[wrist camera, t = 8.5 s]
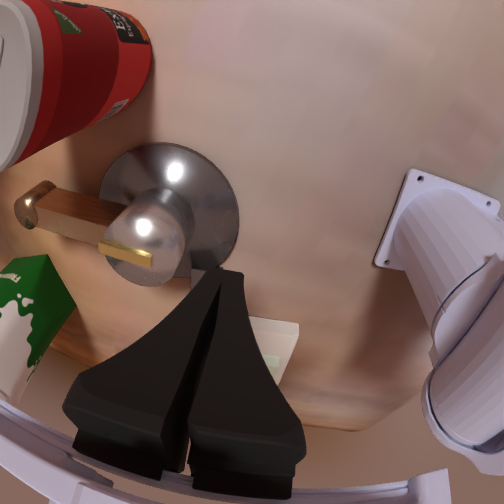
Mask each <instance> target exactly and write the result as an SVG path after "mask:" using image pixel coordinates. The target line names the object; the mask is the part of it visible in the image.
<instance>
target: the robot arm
mask: <svg viewBox="0 0 504 504" xmlns="http://www.w3.org/2000/svg"><path fill="white" fill-rule="evenodd" d="M419 176H422V178H421V180H419V181H417V178H418V177H419ZM488 201H489V202H488ZM487 202H488V204H487ZM486 204H487V205H486ZM499 209H500V203H499V202H498V201H497V200H496V199H493V198H491V197H489V196H486V195H484V194H482V193H479V192H477V191H474V190H472V189H469V188H467V187H464V186H462V185H459V184H456V183H454V182H451V181H448V180H446V179H443V178H440V177H437V176H435V175H432V174H429V173H426V172H423V171H420V170H417V169H410V170H409V171H408V172H407V174H406V177H405V180H404V183H403V186H402V189H401V192H400V195H399V197H398V200H397V203H396V206H395V208H394V211H393V214H392V216H391V219H390V221H389V224H388V227H387V229H386V232H385V234H384V237H383V239H382V241H381V244H380V246H379V249H378V251H377V253H376V256H375V258H374V261H375V264H376V265H377V266H379V267H385V268H391V269H396V270H402V271H405V273H406V275H407V277H408V279H409V282H410V284H411V286H412V288H413V291H414V293H415V296H416V298H417V300H418V303H419V305H420V308H421V310H422V313H423V315H424V318H425V320H426V323H427V325H428V328H429V331H430V333H431V336H432V338H433V346H432V348H431V350H430V351H429V356H430V359H431V362H432V365H433V370H432V371H431V372H430V373H429V375H428V376H427V378H426V380H425V382H424V385H423V388H422V394H421V403H422V410H423V414H424V418H425V420H426V422H427V425H428V426H429V428H430V430H431V432H432V433H433V435H434V436H435V437H436V438H437V439H438V440H439V441H440V442H441V443H442V444H443V445H445V446H446V447H448V448H449V449H452V450H454V451H456V452H459V453H461V454H463V455H464V456H466V457H467V458H469V459H470V460H471V461H472V462H473V464H474V465H475V466H476V467H477V468H478V470H479V471H480V472H481V473H483V474H490V475H498V476H504V222H503V221H502V220H501V219H500V218H499V217H498V216H497V213H498V211H499ZM385 260H388V261H387V262H384V261H385ZM62 409H63V411H64V413H65V414H66V416H67V417H68V418H69V419H70V420H71V421H72V422H73V423H74V424H75V425H76V427H77V428H78V432H77V434H76V437H75V439H74V438H72V437H70V436H68V435H66V434H63V433H61V432H59V431H57V430H55V429H53V428H51V427H49V426H47V425H45V424H43V423H42V422H40V421H38V420H36V419H34V418H32V417H31V416H29V415H27V414H25V413H23V412H22V411H20V410H19V409H17V408H15V407H14V406H12V405H10V404H9V403H7V402H6V401H4V400H3V399H1V398H0V465H1V466H3V467H4V468H5V469H6V470H8V471H9V472H10V473H12V474H13V475H14V476H16V477H17V478H18V479H20V480H21V481H23V482H24V483H26V484H27V485H29V486H30V487H32V488H33V489H35V490H36V491H38V492H39V493H41V494H43V495H44V496H46V497H47V498H49V499H50V500H49V504H162V503H158V502H155V501H151V500H148V499H144V498H141V497H138V496H134V495H131V494H128V493H125V492H122V491H119V490H117V489H114V488H112V487H113V484H114V483H113V482H112V481H111V480H109V479H107V478H105V477H103V476H102V475H100V474H98V473H97V472H96V471H95V470H93V469H91V468H89V467H87V466H85V465H83V464H81V463H79V462H77V461H75V460H74V459H73V458H72V457H74V458H76V459H79V460H80V461H83V462H85V463H87V464H90V465H92V466H95V467H97V468H99V469H102V470H105V471H107V472H110V473H112V474H115V475H118V476H121V477H124V478H127V479H130V480H133V481H136V482H139V483H142V484H146V485H149V486H153V487H156V488H160V489H164V490H168V491H172V492H176V493H180V494H184V495H189V496H195V497H200V498H205V499H210V500H216V501H223V502H230V503H238V504H239V503H240V504H451V494H450V486H449V478H448V470H447V468H443V469H439V470H435V471H430V472H425V473H422V474H419V475H416V476H414V477H412V478H410V479H409V480H405V481H399V482H392V483H386V484H379V485H369V486H360V487H346V488H321V489H297V488H292V478H293V477H294V476H295V465H296V464H297V463H298V462H300V461H301V460H302V459H303V458H304V457H305V456H306V442H305V436H304V432H303V428H302V424H301V421H300V419H299V418H298V417H297V415H296V414H295V412H294V411H293V410H292V408H291V407H290V405H289V404H288V402H287V401H286V399H285V398H284V396H283V394H282V393H281V391H280V390H279V388H278V386H277V384H276V382H275V381H274V379H273V377H272V375H271V373H270V371H269V369H268V367H267V365H266V363H265V361H264V359H263V356H262V354H261V352H260V349H259V347H258V344H257V341H256V339H255V336H254V333H253V329H252V326H251V323H250V319H249V315H248V311H247V306H246V301H245V294H244V275H243V274H242V273H241V272H235V271H229V270H223V269H218V268H212V267H210V268H208V269H207V270H206V272H205V273H204V275H203V276H202V277H201V279H200V280H199V281H198V283H197V284H196V285H195V286H194V288H193V289H192V290H191V291H190V292H189V293H188V295H187V296H186V297H185V298H184V299H183V300H182V301H181V302H180V303H179V305H178V306H177V307H176V308H175V309H174V310H173V311H172V312H171V313H170V314H169V315H168V316H166V317H165V318H164V319H163V320H162V321H161V322H160V323H159V324H158V325H156V326H155V327H154V328H153V329H152V330H150V331H149V332H148V333H147V334H145V335H144V336H143V337H141V338H140V339H139V340H137V341H136V342H134V343H133V344H132V345H130V346H129V347H127V348H126V349H124V350H122V351H121V352H119V353H117V354H116V355H114V356H112V357H111V358H109V359H107V360H106V361H104V362H102V363H100V364H98V365H96V366H94V367H92V368H90V369H87V370H85V371H83V372H81V373H79V375H78V377H77V378H76V380H75V381H74V383H73V384H72V386H71V388H70V390H69V392H68V394H67V396H66V399H65V401H64V403H63V405H62ZM189 438H190V441H191V446H190V452H189V456H188V460H187V464H189V466H190V470H191V476H187V475H183V474H179V473H181V472H182V471H184V468H185V461H186V455H187V449H188V443H189ZM71 456H72V457H71Z"/></svg>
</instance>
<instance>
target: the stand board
mask: <svg viewBox="0 0 504 504" xmlns="http://www.w3.org/2000/svg"><path fill="white" fill-rule="evenodd" d="M249 319H250V323H251V326H252V329H253V333H254V336H255V339H256V341H257V344H258V347H259V349H260V352H261V354H262V356H263V359H264V361H265V363H266V365H267V367H268V369H269V371H270V373H271V375H272V377H273V379H274V381H275V382H276V384H277V385H278V384H279V382H280V380H281V378H282V375H283V373H284V371H285V368H286V366H287V364H288V361H289V359H290V356H291V354H292V352H293V349H294V347H295V344H296V342H297V339H298V337H299V323H292V322H285V321H278V320H271V319H265V318H259V317H253V316H249Z"/></svg>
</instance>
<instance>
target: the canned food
mask: <svg viewBox="0 0 504 504" xmlns="http://www.w3.org/2000/svg"><path fill="white" fill-rule="evenodd" d="M151 62H152V47H151V42H150V38H149V36H148V34H147V32H146V30H145V29H144V27H143V26H142V25H141V24H140V22H139V21H138V20H137V19H135V18H134V17H133V16H131V15H130V14H127V13H124V12H122V11H117V10H113V9H108V8H103V7H98V6H93V5H87V4H81V3H74V2H67V1H58V0H0V172H4V171H5V170H7V169H8V168H10V167H12V166H13V165H15V164H17V163H19V162H21V161H23V160H24V159H26V158H28V157H29V156H31V155H33V154H35V153H37V152H38V151H40V150H42V149H44V148H46V147H48V146H49V145H51V144H53V143H55V142H57V141H59V140H61V139H63V138H65V137H67V136H69V135H71V134H73V133H75V132H78V131H80V130H82V129H84V128H86V127H89V126H91V125H93V124H95V123H98V122H100V121H102V120H105V119H107V118H109V117H112V116H114V115H116V114H118V113H119V112H121V111H122V110H124V109H125V108H126V107H127V106H128V105H129V104H130V103H131V102H132V101H133V100H134V98H135V97H136V96H137V95H138V93H139V92H140V91H141V89H142V87H143V86H144V84H145V82H146V80H147V77H148V74H149V71H150V68H151Z"/></svg>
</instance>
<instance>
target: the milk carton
mask: <svg viewBox="0 0 504 504" xmlns="http://www.w3.org/2000/svg"><path fill="white" fill-rule="evenodd" d="M75 307H76V304H75V302H74V301H73V299H72V298H71V296H70V294H69V293H68V291H67V289H66V287H65V286H64V284H63V282H62V281H61V279H60V277H59V275H58V273H57V272H56V270H55V268H54V266H53V264H52V262H51V261H50V259H49V257H48V255H39V256H31V257H23V258H16V259H13V260H12V261H11V262H10V263H9V264H8V265H7V266H6V267H5V268H4V269H3V270H2V271H1V272H0V398H1V399H3V400H4V401H6V402H7V403H9V404H10V405H12V406H14V407H15V408H16V406H17V404H18V401H19V399H20V397H21V395H22V393H23V391H24V389H25V388H26V385H27V384H28V382H29V380H30V378H31V376H32V374H33V372H34V371H35V369H36V367H37V365H38V363H39V362H40V360H41V358H42V356H43V355H44V353H45V351H46V349H47V348H48V346H49V344H50V343H51V341H52V340H53V338H54V337H55V335H56V334H57V332H58V331H59V329H60V328H61V326H62V325H63V324H64V322H65V321H66V319H67V318H68V317H69V315H70V314H71V312H72V311H73V310H74V308H75Z"/></svg>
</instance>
